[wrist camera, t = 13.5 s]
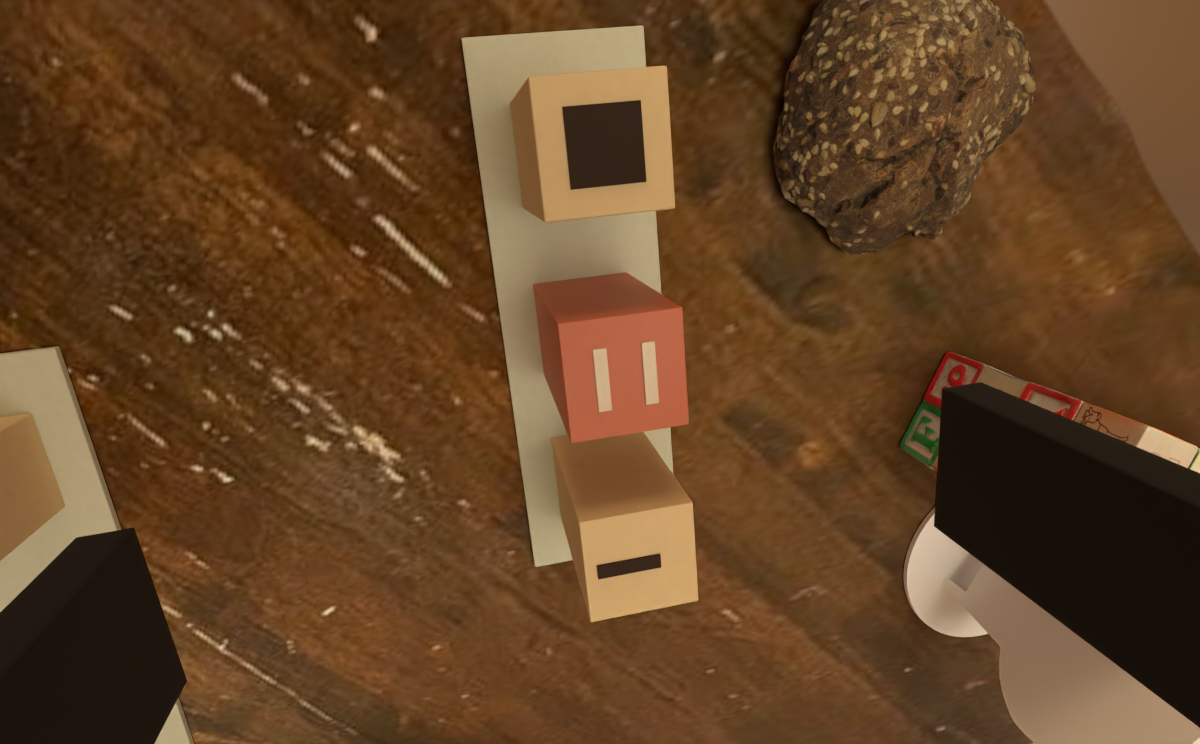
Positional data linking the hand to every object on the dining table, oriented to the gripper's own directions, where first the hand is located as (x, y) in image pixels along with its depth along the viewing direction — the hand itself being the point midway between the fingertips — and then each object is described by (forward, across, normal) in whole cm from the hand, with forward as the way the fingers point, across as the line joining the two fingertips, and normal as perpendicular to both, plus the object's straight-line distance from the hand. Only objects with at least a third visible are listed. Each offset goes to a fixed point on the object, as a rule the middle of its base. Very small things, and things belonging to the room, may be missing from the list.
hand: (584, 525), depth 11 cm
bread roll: (+23, +20, +6) cm, 31 cm away
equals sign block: (+22, +4, -2) cm, 23 cm away
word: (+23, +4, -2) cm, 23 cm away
